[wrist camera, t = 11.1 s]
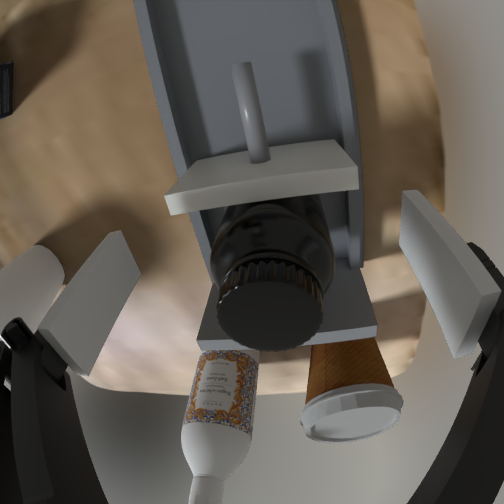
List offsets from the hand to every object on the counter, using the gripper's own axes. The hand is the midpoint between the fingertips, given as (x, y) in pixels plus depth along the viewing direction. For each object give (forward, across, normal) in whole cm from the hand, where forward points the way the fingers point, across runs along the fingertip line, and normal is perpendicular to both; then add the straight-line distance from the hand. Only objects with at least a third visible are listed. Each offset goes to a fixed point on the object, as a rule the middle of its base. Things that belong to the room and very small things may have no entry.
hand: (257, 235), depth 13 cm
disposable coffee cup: (+10, +5, -19) cm, 22 cm away
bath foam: (+10, -8, -21) cm, 25 cm away
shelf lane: (+11, 0, +7) cm, 13 cm away
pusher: (+9, 0, +4) cm, 10 cm away
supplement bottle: (+10, 0, -3) cm, 10 cm away
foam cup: (+11, -29, -6) cm, 31 cm away
